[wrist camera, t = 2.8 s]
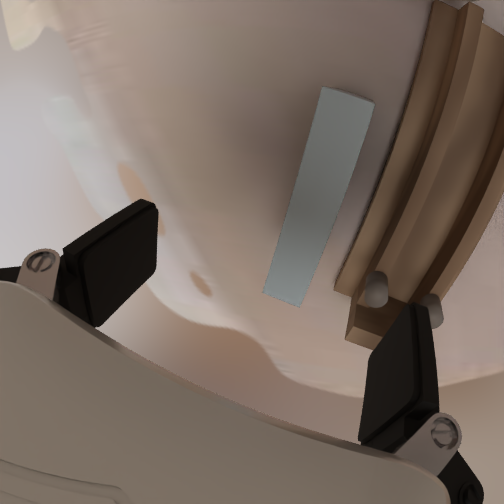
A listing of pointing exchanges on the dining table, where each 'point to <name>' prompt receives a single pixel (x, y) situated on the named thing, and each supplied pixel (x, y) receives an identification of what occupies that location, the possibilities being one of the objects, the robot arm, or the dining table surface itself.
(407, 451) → the robot arm
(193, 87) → the dining table surface
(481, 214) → the rail
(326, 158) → the panel
